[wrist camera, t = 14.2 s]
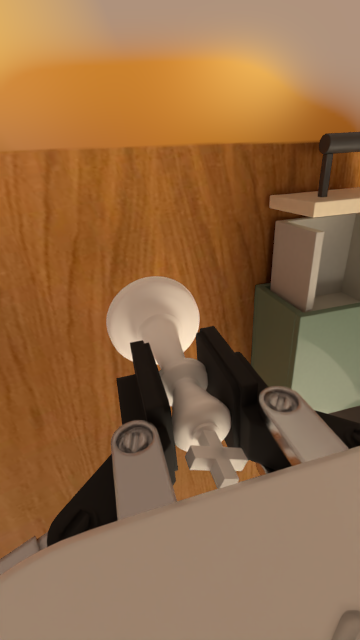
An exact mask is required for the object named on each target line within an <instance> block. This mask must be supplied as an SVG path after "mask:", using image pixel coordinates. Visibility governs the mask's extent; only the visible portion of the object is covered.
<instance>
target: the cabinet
mask: <svg viewBox="0 0 360 640" xmlns="http://www.w3.org/2000/svg"><path fill="white" fill-rule="evenodd" d="M270 287H271V283H266V284H259V285H255V300H254V318H253V336H252V354H251V366H252V367H253V368H254V370H255V371H256V372H257V373H258V374H259V376H260V377H261V378H262V379H263V381H264V382H265V383H266V384H267V385H268V387H272V386H283V387H287V388H290V389H292V390H294V391H296V392H297V393H298V394H300V395H301V396H302V398H303V399H304V400H305V401H306V402H307V403H308V404H309V405H310V406H311V407H312V409H313V410H316V411H319V412H323V413H326V414H329V413H333V412H337V411H340V410H344V409H348V408H352V407H356V406H360V302H359V303H354V304H348V305H343V306H337V307H332V308H326V309H320V310H315V311H309V312H304V313H303V312H301V311H300V310H298V309H297V308H296V307H294V306H293V305H291V304H290V303H288V302H287V301H285V300H284V299H282V298H281V297H279V296H278V295H276V294H275V293H273V292H272V291H270Z"/></svg>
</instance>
